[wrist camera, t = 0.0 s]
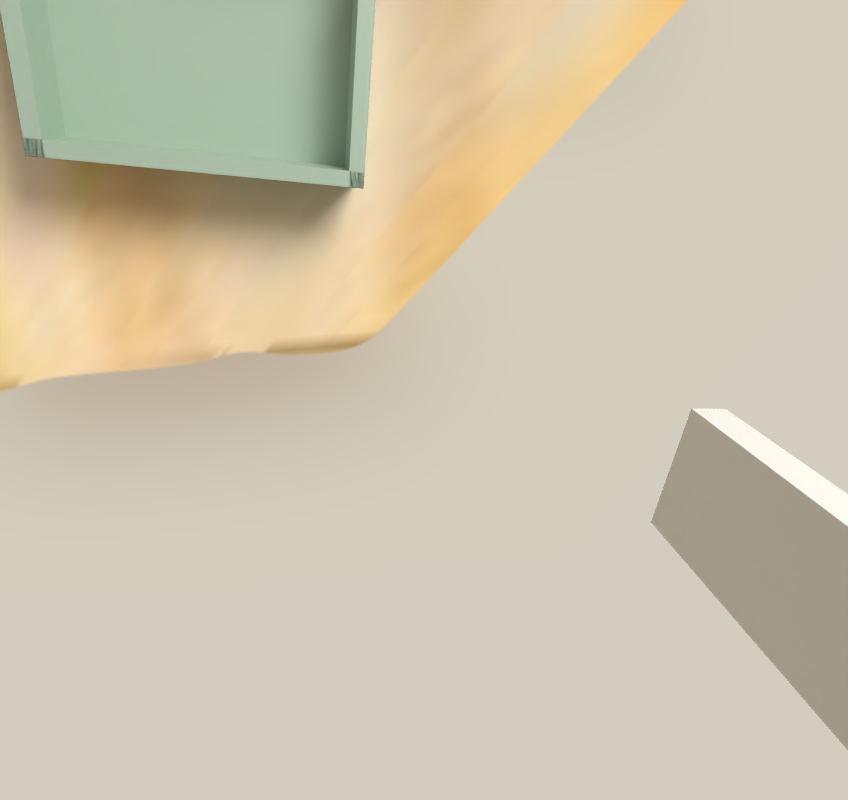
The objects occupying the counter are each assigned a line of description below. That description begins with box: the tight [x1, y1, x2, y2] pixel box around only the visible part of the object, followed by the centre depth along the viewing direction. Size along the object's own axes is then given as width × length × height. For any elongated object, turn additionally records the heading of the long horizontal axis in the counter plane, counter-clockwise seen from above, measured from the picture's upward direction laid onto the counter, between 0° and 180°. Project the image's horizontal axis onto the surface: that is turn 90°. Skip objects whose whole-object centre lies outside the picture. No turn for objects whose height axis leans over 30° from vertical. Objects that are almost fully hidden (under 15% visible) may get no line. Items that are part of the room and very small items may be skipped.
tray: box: [0, 0, 375, 188], centre depth 28 cm, size 10×16×4 cm, turn 83°
